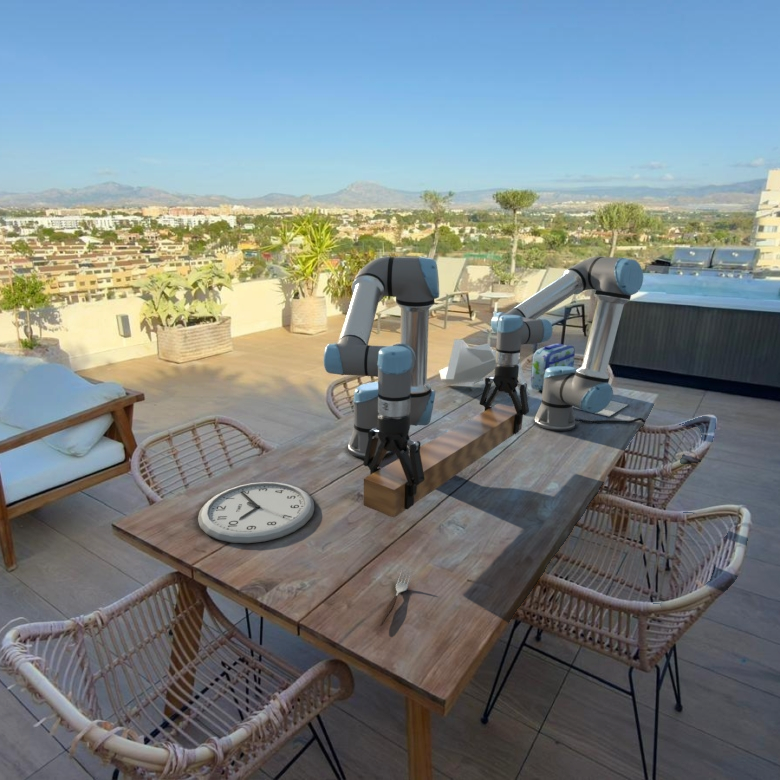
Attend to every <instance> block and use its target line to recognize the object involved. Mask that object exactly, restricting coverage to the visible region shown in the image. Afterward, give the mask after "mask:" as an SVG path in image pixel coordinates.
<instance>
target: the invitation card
mask: <svg viewBox="0 0 780 780" xmlns="http://www.w3.org/2000/svg"><path fill="white" fill-rule="evenodd" d="M628 406H629V404H627V403H623V402H618V401H614V400H611V401H610V403H609V404H608V405H607V407H606V408H604V409H603V410H602V411H600V412H597V413H595V414H596V415H600V416H604V417H608V418H609V417H611V416H613V415H614V414H616V413H617V412H619V411H621V410H623V409H624V408H626V407H628ZM573 409H575V410H581V409H579V408H577V407H574V406H573ZM581 411H582V410H581Z"/></svg>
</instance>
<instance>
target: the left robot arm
mask: <svg viewBox="0 0 780 780" xmlns="http://www.w3.org/2000/svg"><path fill="white" fill-rule="evenodd" d="M439 279H440V278H439V270H438V264H437V262H436V260H435V259H434V258H432V257H431V258H430V257H422V256H381V257H378V258H375V259H373V260H372V261H370V262H368V263H366V264H365V265H364V266H363V267H362V268H361V269H360V270H359V271H358V272H357V274H356V275H355V277H354V279H353V281H352V285H351V293H352V297H351V300H350V303H349V307H348V308H347V312H346V315H345V318H344V321H343V325H342V328H341V332H340V334H339V338H338V340H337V342H334V343H328V344H327V345H326V346H325V348H324V352H323V367H324V370H325V371H326V373H328V374H330V375H339V376H360V377H361V376H363V377H377V381H372V382H367V383H363V384H361V385H358V386H357V387H356V388H355V389H354V392H353V399H352V402H353V430H352V432H351V436H350V439H349V442H348V453H349V454H350V455H352V456H353V457H356V458H359V459H364V460H363V466H364V467H368V469H369V475H371V474H373V473H374V472H376V471H378V470H380V469H381V468H382V467H381V463H382V461H383V460H384V458H386V457H389V456H390V455H392V454H395V456H396V458H397V459H399V460H400V463H401V465H402V468H403V471H404V473H405V476H406V479H407V481H408V482H407V483H406V484H405V509H406V510H409V509H410V508H412V507H413V506H414V505H415V504H414V496H415V495H416V493H417V485H418V484H420V483H421V482H423V481H424V480H425V478H424V473H423V467H422V461H421V456H420V447H421V446H422V445H421V441H419V440H416V441H414V440H411V438H410V436H409V433H410V429H411V426H415V427H417V426H429V424H430V423H431V420H432V414H433V410H434V404H435V398H436V397H435V396H436V390H433V389H432V385H431V383H430V382H428V380H427V378H428V348H429V321H430V320H429V319H430V316H429V315H430V309H431V308H432V307H433V306H434V305H435V300H437V299H438V298H440V280H439ZM384 297H393V298H395V304H396V305H397V306H398V308H400V341H399V343H396V344H395V343H394V344H393V345H370V344H369V341H370V338H371V334H372V329H373V326H374V321H375V318H376V314H377V310H378V307H379V306H378V305H379V302H381V301H382V299H383V298H384ZM409 453H410V456H409Z"/></svg>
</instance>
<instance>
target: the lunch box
mask: <svg viewBox="0 0 780 780" xmlns="http://www.w3.org/2000/svg"><path fill="white" fill-rule="evenodd" d="M575 352H576V351H575V346H573V345H568V344H562V343H553V344H550V345H547V346H546V345H545V346H544V347H541V348H538V349H537V350H536V351H535V352H534V354H533V357H532V362H531V371H530V372H531V374H530V387H531V389H533V390H539V391H543V378H544V375H545V370H546V369H547V368H549V367H555V366H568V367H574V363H575Z"/></svg>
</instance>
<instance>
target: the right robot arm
mask: <svg viewBox="0 0 780 780" xmlns="http://www.w3.org/2000/svg"><path fill="white" fill-rule="evenodd" d="M643 283H644V271H643V268H642V266H641V264H640V263H639V261H637V260H635V259H632V258H627V257H612V256H610V257H609V256H593V257H590V258H587V259H584V260H582V261H580V262H578V263H576V264H575V265H573V266H571V267H569V268H567V269H566V270H565V271H564V272H563V273H562V274H561V277H559V278H558V279H556V280H555V281H553V282H552V283H550V284H548V285H547V286H545V287H544V288H542V289H541V290H539V291H538V292H536V293H535V294H533V295H532V296H530V297H529V298H527V299H525V300H524V301H523V302H521V303H519V304H518V305H517V306H515V307H513V308H512V309H509V311H507V312H505V311H502V312H500V311H499V312H496V314H495V315H493V316H492V318H491V320H490V327H491V330H492V331H493V332H495V333H496V349H495V350H496V360H495V362H496V364H495V369H494V376H493V377H492V376H490V375H489V376H487V377H484V388H483V390H482V394H481V396H480V400H479V405H480V406H483V408H484V411H486V410H488V409H489V408H491V407H492V404H493V403H494V401H495V399H496V398H497V396H498V395H499V393H506V394H508V396H509V397H510V399H511V402H512V404H513V407H515V410H516V412H517V414H516V415H515V418H514V430H513V434H514V435H516V434H518V433H519V432H520V431H519V425H520V424H521V423H522V424H523V421H524V420H523V419H524V418H523V417H524V416H525V415H527V414H529V413H530V408H529V407H530V406H529V399H528V396H527V393H526V389H527V387H528V383H527V382H526V383H524V384H522V383H521V382H520V380H519V376H518V372H519V366H518V364H519V362H520V361H521V360H520V359H521V348H522V345H530V344H531V345H532V344H540V343H544V342H547V341H549V340H550V339H551V338H552V335H553V331H554V330H553V329H554V328H553V325H552V323H551V321H550V320H549V319H547V318H540V317H541V316H543V315H544V314H546V313H547V312H549V311H551V310H552V309H553V308H555V307H556V306H558V305H559V304H561V303H563V302H564V301H566V300H567V299H568V298H570V297H572V296H573V295H580V294H582V293H583V292H585V291H591V290H594V291H595V292H594V297H595V298H596V300H597V301H596V302H597V303H596V306H595V310H594V314H593V318H592V323H591V326H590V330H589V334H588V338H587V341H586V342H587V343H586V346H585V350H584V354H583V358H582V362H581V366H580V367H579V368H577V367H574V366H573V367H568V366H555V367H549V368H547V369H546V370H545V375H544V378H543V390H541V391H542V392H541V402H540V405H539V407H538V410H537V411H536V413H535V416H534V424H535V425H536V426H537V427H539V428H542V429H544V430H549V431H556V432H567V431H572V430H574V429H575V428H576V422H579V423H586V424H601V423H603V424H605V423H610V424H613V423H614V424H632V423H636V422H639V421H641V422H643V423H646V420H645V419H644V418H642V417H637V418H634V419H631V420H621V419H620V420H616V419H600V420H598V419H597V420H589V419H587V420H586V419H581V418H575V417H576V416H575V413H574V407H577V408H579V409H578V410H580V409H581V411H583V412H587V413H590V414H596V413H597V412H600V411H602V410H603V409H604V408H606V407H607V405H608V404H609V403H610V401H612V399H613V396H614V390H613V386H612V385H611V384H610V383H609V381H610V375H609V374H608V372H607V371H608V367H609V363H610V360H611V355H612V352H613V348H614V344H615V340H616V336H617V333H618V332H617V331H618V329H619V324H620V320H621V317H622V313H623V310H624V306H625V305H626V304H627V303H628V302H630V301H631V297H632V296H634V295H635V294H637V293H638V292H639V291H640V290H641V288H642V286H643ZM493 384H494V385H495V387H494V388H493V390H492V392H491V393H490V391H491V388H492V385H493ZM517 387H518V390H519V395H518V391H517V389H516V388H517ZM489 394H490V396H489ZM519 398H520V399H519Z"/></svg>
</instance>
